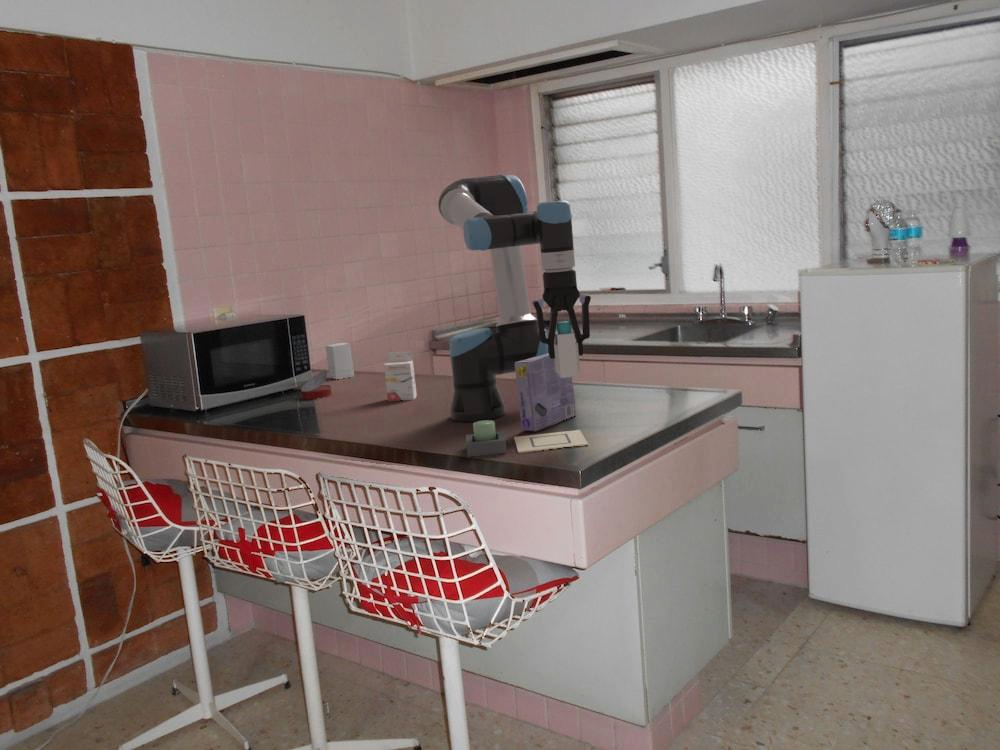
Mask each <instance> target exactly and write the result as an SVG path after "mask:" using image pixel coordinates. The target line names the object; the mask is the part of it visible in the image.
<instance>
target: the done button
mask: <svg viewBox="0 0 1000 750" xmlns="http://www.w3.org/2000/svg"><path fill="white" fill-rule="evenodd" d="M472 427H473V434H474V439H475V442H478V441H487V440H496V432H497V431H496V423H495V420H492V419H489V420H483V421H474V422H473V423H472Z"/></svg>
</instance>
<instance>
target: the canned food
mask: <svg viewBox="0 0 1000 750" xmlns="http://www.w3.org/2000/svg"><path fill="white" fill-rule="evenodd" d="M327 373H328V371H327V370H322V371H321V372H318V373H317V374H316V375H314V376H313V377H311V378H310V379H308V380H307V382H305V383H304V384H303V385H302V387H301V389H300V393H301V399H302V400H303V399H315V400H318V399H317V398H322V399H324V398H323V397H326V398H328V397H327V396H329V397H331V396H332V395H333V393H332V388H331V387H332V386H331V385H327V384H326V385H325V384H324V383H325V381H326V380H327V377H328V374H327ZM330 395H331V396H330Z"/></svg>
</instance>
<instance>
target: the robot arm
mask: <svg viewBox="0 0 1000 750" xmlns="http://www.w3.org/2000/svg"><path fill="white" fill-rule="evenodd" d="M437 206H438V212H439V213H440V215H441V217H442V218H443V219H444V220H445V221H446V222H447V223H449V224H451V225H453V226H454V225H455V226H457V227H459V228H460V229H461V230H462V231H463V232H462V233H463V239H464V243H465V245H466V249H468V250H469V251H472V252H473V251H487V250H490V251H489V252H490V256H491V264H492V270H493V278H494V279H493V280H494V284H495V291H496V298H497V306H498V313H499V320H498V322H497V323H496V324H495V328H496V329H495V330H496V331H495V332H493V331H492V330H491V328H489V327H482V328H476V329H471V330H470V329H469V330H466V331H463V332H460V333H457V334H456V335H454V336H452V337H451V338H450V340H449V357H450V363H451V364H450V365H451V373H452V380H453V381H452V382H453V395H452V401H451V404H450V410H449V414H450V419H451V420H452V421H454V422H460V423H461V422H463V423H464V422H465V423H466V422H467V423H469V422H470V423H472V422H473V423H475V422H478V421H484V420H492V419H493V420H494V419H497V418H500V417H502V416H504V415H506V413H507V412H506V404H505V402H504V400H503V398H502V395H501V393H500V391H499V388H498V385H497V379H496V376H497V375H498V376H499V375H506V374H512V373H516V372H515V362H518V361H522V360H526V359H529V358H533V357H537V356H541V355H545V354H549V357H550V358H551V359H554V365H555V372H556V373H560V368H559V356H558V345H557V344H556V343H555V333H556V332H557V331H556V330H557V321H558V315H559V312H562V311H566V312H567V315H568V318H569V321H570V322H571V330H572V332H573V333H574V334H575V346H576V358H577V370H578V372H580V371H581V366H580V356H583V354H584V349H583V348H584V347H583V342H584V341H585V340H586V339H587V340H588V339H589V338H590V336H591V335H590V334H591V333H590V332H591V331H590V309H589V305H590V303H591V298H592V297H591V295H588V294H583V293H580V291H579V289H578V286H577V285H578V283H577V272H576V270H575V269H574V268H575V267H576V260H575V252H574V251H575V249H574V237H573V236H574V235H573V220H572V218H573V216H572V215H573V214H572V212H571V204H570V202H569V201H568V200H565V199H564V200H557V201H556V200H555V201H547V202H546V201H545V202H539V203H538V204H537V206H536V210H535V211H530V212H528V207H529V206H528V197H527V192H526V189H525V187H524V185H523V183H522V181H521V180H520V178H519V177H518V176H517V175H514V174H505V175H504V174H497V175H489V176H481V177H479V176H478V177H471V178H470V177H467V178H461V179H458V180H455V181H453V182H452V183H450V184H448V185H447V186H446V187H445V188H444V189H443V190H442V192H441V193H440V195H439V198H438V203H437ZM530 245H531V246H532V245H539V247H540V259H541V269H542V270H543V271H544V272H543V273H542V281H543V282H542V283H543V293H542V297H540V298H538V299H534V300H532V303H531V304H532V305H533V307H534V310H535V312H536V313H535V314H536V317H535V316H534V315H532V310H531V305H530V298H529V297H530V296H529V292H528V290H529V289H528V285H527V275H526V272H525V265H524V263H525V262H524V257H523V250H522V247H524V246H530ZM578 300H579V303H581V320H582V324H581V325H582V327H581V328H582V333H581V330H580V326H579V323H578V320H577V316H576V312H575V311H576V310H575V309H574V306H575V305H576V303H577V301H578ZM544 303H545V304H547V306H548V307H549V308H550V313H549V314H550V317H549V326H548V333H547V330H546V328H545V320H544V312H543V308H544Z"/></svg>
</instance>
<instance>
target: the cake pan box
mask: <svg viewBox="0 0 1000 750" xmlns="http://www.w3.org/2000/svg"><path fill="white" fill-rule="evenodd" d="M514 373H515V378H516V381H515V382H516V386H517V387H516V388H517V397H518V407H519V417H520V427H521V430H522V431H526V432H534V433H536V432H538V431H541V430H544V429H546V428H549V427H552V426H555V425H558V424H560V423H562V422H563V420H564V421H567V420H569V419H571V417H572V418H574V416H575V417H577V414H576V406H575V403H576V402H575V393H574V384H573V383H574V382H573V377H567V378H560V377H559V375H558V373H556V372H555V365H554V359H551V358H550V357H549V353H547V354H545V355H541V356H537V357H533V358H529V359H526V360H522V361H518V362H515V372H514ZM566 419H567V420H566ZM561 421H562V422H561ZM559 422H560V423H559ZM557 423H558V424H557Z"/></svg>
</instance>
